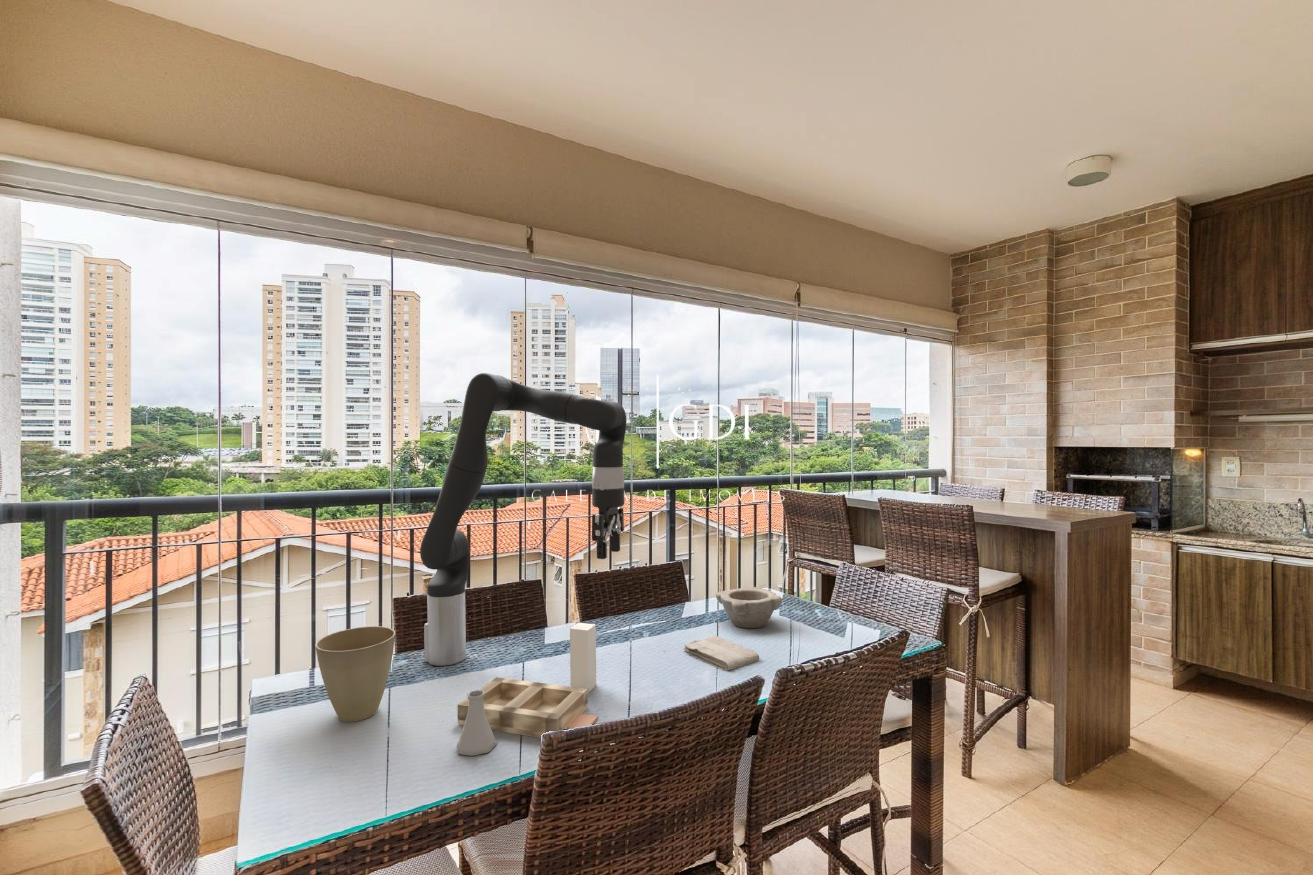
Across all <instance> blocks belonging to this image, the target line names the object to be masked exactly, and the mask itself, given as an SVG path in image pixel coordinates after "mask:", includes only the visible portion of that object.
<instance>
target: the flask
mask: <svg viewBox="0 0 1313 875" xmlns="http://www.w3.org/2000/svg"><path fill="white" fill-rule="evenodd" d="M466 695H467V698H468V699H469V707H468V713H467V717H466V720H465V723H464V725H462V730H461V732H460V735H459V739H458V741H457V743H456V750H457V754H458V755H462V756H464V755H465V756H477V755H483V754H486V753H491V752H490V751H491V750H492V749H494V747H495V746H496V745H497V742H496V738H495V735H494V733H493V730H491V727H490V725H489V722H488V720H487V717H486V714H485V709H484V704H483V697H484V696H485V692H484V690H479V689H475V690H474V689H473V690H470V691H469V692H467V694H466Z"/></svg>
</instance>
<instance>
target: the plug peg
mask: <svg viewBox="0 0 1313 875" xmlns="http://www.w3.org/2000/svg"><path fill="white" fill-rule="evenodd" d="M569 650H570V652H569V656H570V657H569V659H570V660H569V664H570V665H569V666H570V669H569V670H570V675H569V676H570V680H569V681H570V687H576V688H584V689H588V694H589V693H590V692H592V690H593V689H594V688H595V687H596V686H597V624H595V623H586V622H585V623H584V622H583V623H582V622H577V623H576V624H575V625H573V626H572V627H570V628H569Z"/></svg>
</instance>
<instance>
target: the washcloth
mask: <svg viewBox="0 0 1313 875" xmlns="http://www.w3.org/2000/svg"><path fill="white" fill-rule="evenodd" d="M683 651H684V652H685V653H687V654H688V655H690V656H691V657H694V658H696V659H699V660H700V661H703V662H705V663H706V664H709V665H712V666H714V667H716V668H718V669H721V670H723V671H731V670H735V669H738V668H739V667H742V666H747V665H750V664H752V663H755V662H757V661H759V660H760V655H759V654H758V652H755V651H754V650H752V649H749V648H746V647H744V646H743V645H740V644H738V643H735V642H732V641H730V640H727V639H725V638H723V637H720V636H717V635H711V636H708V637H707V638H705V639H697V640H693V641H691V642H686V643H685V644H684V648H683Z"/></svg>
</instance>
